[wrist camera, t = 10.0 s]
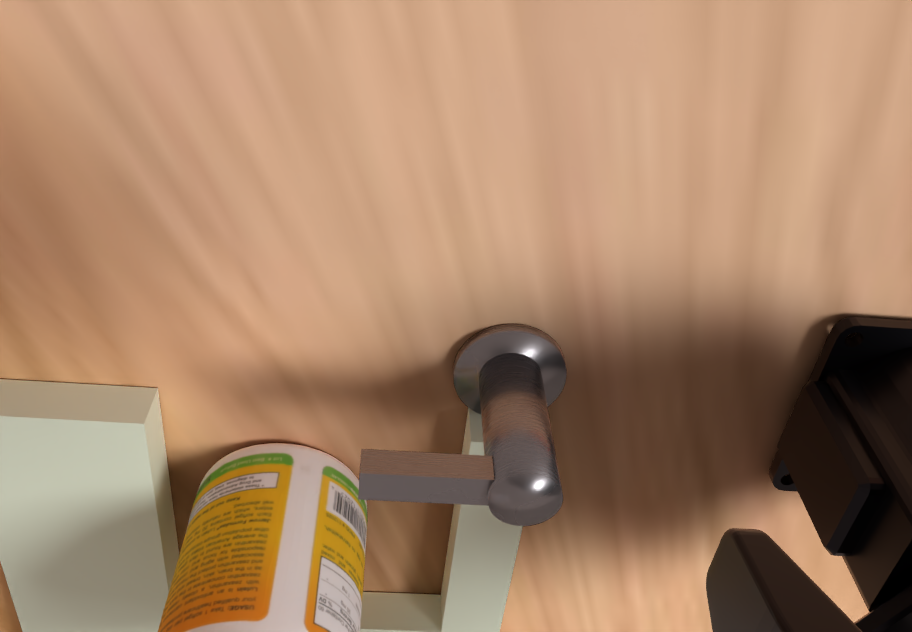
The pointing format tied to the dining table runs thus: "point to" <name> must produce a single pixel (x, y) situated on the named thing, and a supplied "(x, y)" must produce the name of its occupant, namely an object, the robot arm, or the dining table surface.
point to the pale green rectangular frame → (169, 521)
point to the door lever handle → (489, 434)
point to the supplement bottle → (272, 546)
